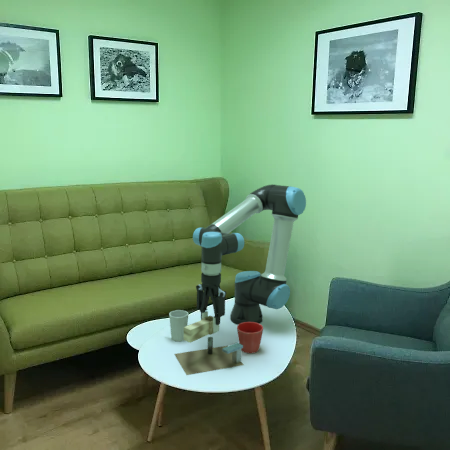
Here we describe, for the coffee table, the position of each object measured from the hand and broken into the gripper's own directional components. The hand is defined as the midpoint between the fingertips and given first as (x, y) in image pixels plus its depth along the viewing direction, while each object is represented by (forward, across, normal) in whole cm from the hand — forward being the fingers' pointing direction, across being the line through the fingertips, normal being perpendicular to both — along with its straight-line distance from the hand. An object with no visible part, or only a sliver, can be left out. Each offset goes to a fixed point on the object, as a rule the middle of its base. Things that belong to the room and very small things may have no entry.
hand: (210, 329), depth 183 cm
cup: (+11, -19, +2) cm, 22 cm away
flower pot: (+11, +8, +15) cm, 20 cm away
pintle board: (+11, +3, -4) cm, 12 cm away
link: (0, 0, -5) cm, 5 cm away
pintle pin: (+11, 0, 0) cm, 11 cm away
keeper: (+10, +12, -1) cm, 16 cm away
